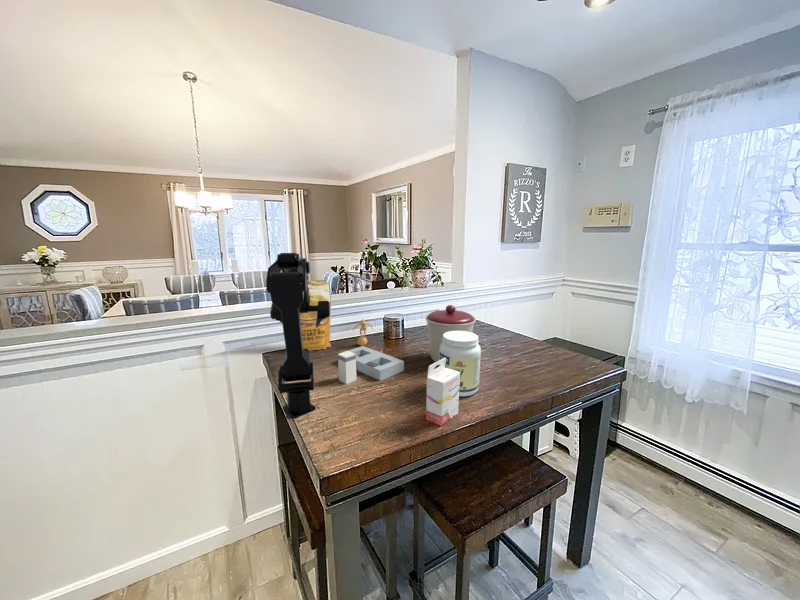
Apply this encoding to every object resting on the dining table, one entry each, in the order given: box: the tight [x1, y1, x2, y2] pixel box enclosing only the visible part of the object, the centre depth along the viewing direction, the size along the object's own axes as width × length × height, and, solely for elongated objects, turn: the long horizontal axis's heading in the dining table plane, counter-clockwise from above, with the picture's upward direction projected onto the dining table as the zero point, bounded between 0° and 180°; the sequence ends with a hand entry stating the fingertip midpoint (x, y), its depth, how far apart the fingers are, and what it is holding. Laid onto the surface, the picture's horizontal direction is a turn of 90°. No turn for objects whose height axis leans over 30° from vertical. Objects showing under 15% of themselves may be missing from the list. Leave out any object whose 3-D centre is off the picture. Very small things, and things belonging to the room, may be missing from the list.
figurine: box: [352, 318, 374, 347], centre depth 137 cm, size 8×6×12 cm
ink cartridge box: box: [425, 358, 460, 427], centre depth 84 cm, size 9×5×15 cm, turn 141°
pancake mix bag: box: [300, 279, 332, 352], centre depth 132 cm, size 7×19×28 cm, turn 110°
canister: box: [424, 304, 477, 363], centre depth 121 cm, size 18×18×21 cm
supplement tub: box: [438, 331, 482, 397], centre depth 100 cm, size 12×12×17 cm
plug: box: [337, 350, 357, 385], centre depth 106 cm, size 4×4×9 cm
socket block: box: [341, 345, 405, 382], centre depth 117 cm, size 22×11×4 cm, turn 46°
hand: (303, 327), depth 115 cm, fingers open, 9 cm apart
